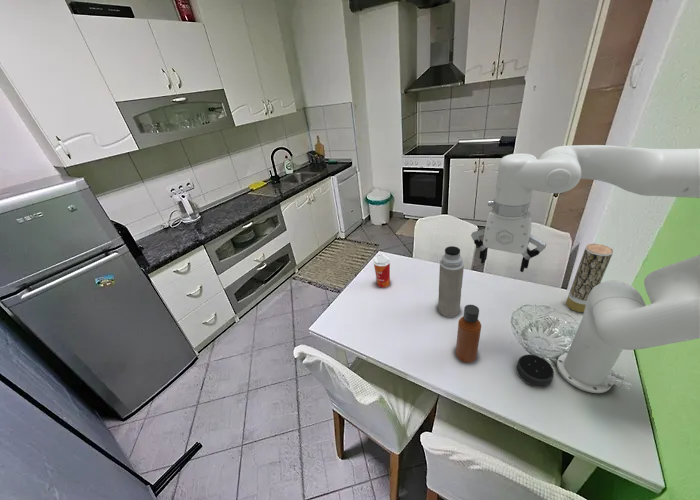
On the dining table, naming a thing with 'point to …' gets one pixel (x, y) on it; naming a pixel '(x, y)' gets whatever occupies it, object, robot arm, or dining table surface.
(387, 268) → the paper cup
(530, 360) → the smart speaker
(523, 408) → the dining table surface
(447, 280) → the thermos bottle
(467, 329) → the sauce bottle
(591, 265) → the paper tube
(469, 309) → the cap
